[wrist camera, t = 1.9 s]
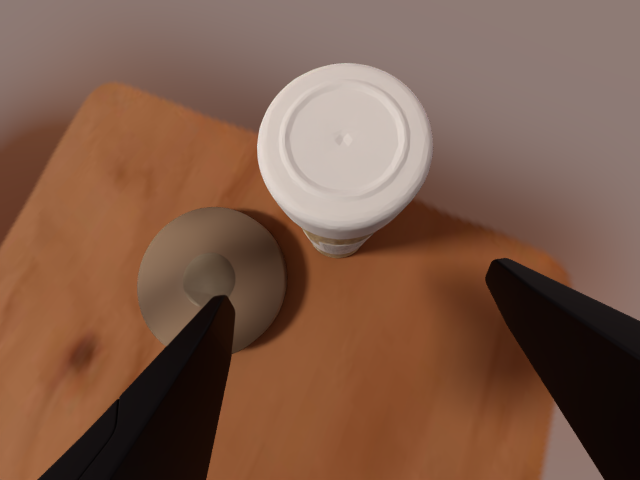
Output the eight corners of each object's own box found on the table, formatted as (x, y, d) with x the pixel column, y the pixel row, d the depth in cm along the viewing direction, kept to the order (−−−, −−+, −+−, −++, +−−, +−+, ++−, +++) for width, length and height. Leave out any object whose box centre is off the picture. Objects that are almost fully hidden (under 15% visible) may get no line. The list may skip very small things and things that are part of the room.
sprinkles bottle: (306, 206, 20) (246, 66, 6) (362, 199, 19) (423, 41, 6) (311, 262, 19) (257, 239, 6) (369, 256, 19) (455, 217, 5)
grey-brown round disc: (314, 300, 19) (312, 302, 17) (192, 381, 18) (180, 390, 17) (242, 186, 20) (234, 180, 19) (129, 259, 20) (113, 258, 18)
